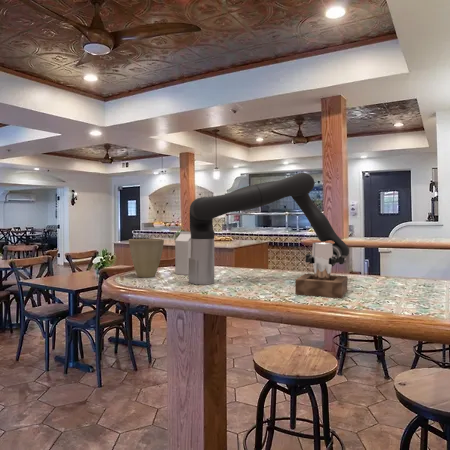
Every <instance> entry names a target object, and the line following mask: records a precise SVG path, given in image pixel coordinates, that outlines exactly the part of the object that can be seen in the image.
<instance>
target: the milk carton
mask: <svg viewBox="0 0 450 450" xmlns="http://www.w3.org/2000/svg"><path fill="white" fill-rule="evenodd" d="M174 243H175V244H174V246H175V247H174V248H175V249H174V253H175V255H174V257H175V258H174V259H175V261H174V263H175V266H174V267H175V268H174V271H175V275H185V276H189V258H191V233H190V231H179V235H178V236H177V237H176V239H175V240H174Z"/></svg>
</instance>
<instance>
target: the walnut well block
mask: <svg viewBox="0 0 450 450" xmlns="http://www.w3.org/2000/svg"><path fill="white" fill-rule="evenodd" d="M314 277H315V275H314V273H304V274H301V276H299V277H297V278H295V292H294V293H295V295H297V296H299V295H300V296H309V297H319V296H321V297H320V298H322V297H323V298H331V297H332V299H343V297H344V296H345V295H346V293H347V292H348V276H347V275H333V274H332V275H331V274H330V280H331V281H330V280H315V279H314Z"/></svg>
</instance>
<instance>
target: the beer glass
mask: <svg viewBox="0 0 450 450" xmlns="http://www.w3.org/2000/svg"><path fill="white" fill-rule="evenodd" d="M332 244H333V243H331V242H321V241H320V242H312V249H311V255H312V261H313V263H312V267H313V274H314V275H315V277H314V279H315V280H330V275H331V273H332V267H333V266H332V265H331V258H333V247H332ZM330 281H331V280H330Z"/></svg>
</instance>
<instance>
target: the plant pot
mask: <svg viewBox="0 0 450 450" xmlns="http://www.w3.org/2000/svg"><path fill="white" fill-rule="evenodd" d="M128 243H129V251H130V255H131V260H132V264H133V267H134V271H135V273H136V276H137V277H138V278H141V279H142V278H146V279H147V278H154V277H156V274H157V272H158V269H159V265H160V262H161V260H162V259H161V258H162V255H163V250H164V243H165V239H163V238H130V239H128Z"/></svg>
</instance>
